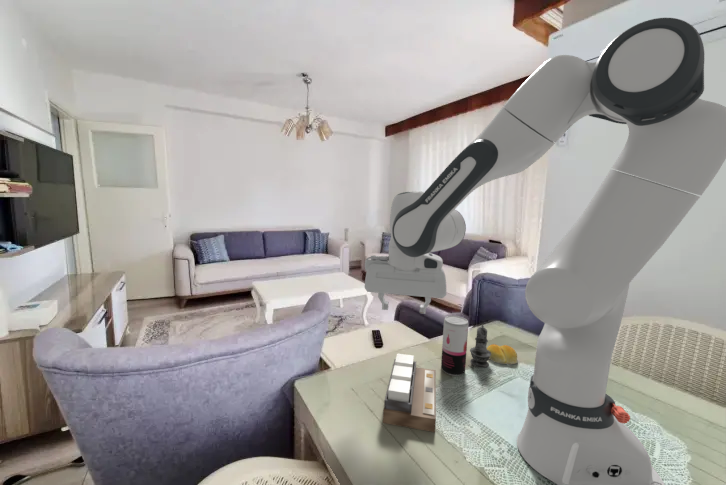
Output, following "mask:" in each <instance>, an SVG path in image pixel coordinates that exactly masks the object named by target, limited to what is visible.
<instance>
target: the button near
mask: <svg viewBox="0 0 726 485" xmlns="http://www.w3.org/2000/svg"><path fill="white" fill-rule="evenodd" d="M409 396H410V381H403V380H396V379H391V382H390V386H389V390H388V400H394V401H400V402H406V403H409Z"/></svg>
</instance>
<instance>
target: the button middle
mask: <svg viewBox="0 0 726 485" xmlns="http://www.w3.org/2000/svg"><path fill="white" fill-rule="evenodd" d="M392 379H396V380H403V381H410V386H411V380H412V367H404V366H397V365H394V369H393V373H392Z"/></svg>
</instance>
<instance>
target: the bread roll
mask: <svg viewBox="0 0 726 485" xmlns="http://www.w3.org/2000/svg"><path fill="white" fill-rule="evenodd" d="M486 348H487V350H489V351H490V352H491V356H490V358H489V359H488V360H491V361H492V362H494V363H496V364H500V365H505V364H506V365H515V364H517V363H518V362H519V360H518V354H517V351H516V350H515V349H514V348H513V347H512V346H510V345H508V344H507V345H506V344H502V345H498V344H494V343H493V344H490V345H488V346H486Z"/></svg>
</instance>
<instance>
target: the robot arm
mask: <svg viewBox="0 0 726 485" xmlns="http://www.w3.org/2000/svg"><path fill="white" fill-rule="evenodd" d="M704 91H705V48H704V43H703V39H702V37H701V35H700V33H699V32H698V29H696V28H695V26H693V25H692V24H690V22H687V21H685V20H682V19H679V18H674V17H657V18H652V19H648V20H644V21H642V22H639V23H637V24H636V25H635V24H634V25H633V26H631V27H629V28H627V29H625V30H624V31H622V32H621V33H620V34H619V35H617V36H616V37H615V38H614V39H613V40H612V41H610V43H608V44H607V46H606V47H605V49H604V50H603V51H602V53H601V54H600V56H599V57H598V59H597V61H595V62H589V61H585V60H584V59H582V58H581V57H579V56H574V55H569V54H560V55H555V56H553V57H550V58H548V59H547V60H546V61H544V62H543V63H542V64H541V65H540V66H539V67H538V68H537V69H536V70H535V71H534V72H533V73H532V74H531V75H530V76H529V77H528V78H526V79H525V81H524V82H522V84H521V85H520V86H519V87H518V88H517V89H516V90H515V92H514V93H513V94H512V95H511V96H510V98H509V99H508V100H507V101H506V103H505V104H504V105H503V107H502V108H500V110H499V111H498V112H497V114H495V116H494V117H493V118H492V120H490V122H489V123H488V124H487V125H486V127H485V128H484V129H483V130H482V131H481V133H479V135H478V136H477V137H475V138H474V139H473V141H471V142H470V143H469V144H468V145H467V146H466V147H465V148H464V149H463V150H462V151H460V153H459V154H457V156H456V157H454V159H453V160H452V161H451V162H450V163H449V164H448V165H447V166H446V168H444V170H442V172H441V173H440V174H439V175H438V176H437V178H436V179H435V180H434V181H433V182H432V183H431V184H430V185H429V187H428V188H427V189H426V190H425V191H421V190H412V191H403V192H400V193H398V194H396V195H394V198H393V200H392V202H391V207H390V216H389V230H390V240H389V241H388V242H389V243H388V255H386V256H385V255H381V256H380V255H370V256H368V257H367V258H366V259H365V261H364V271H365V272H366V273H365V280H364V290H366V292H367V293H373V294H374V293H376V294H377V297H378V299H379V301H380V303H381V310H382V311H388V310H389V305H390V304H389V301H387V300H386V299H385V298H384V297H385V294H387V295H389V294H390V295H398V296H399V295H401V296H409V297H410V296H413V297H419V298H421V297H423V298H424V300H425V301H424V303H423V304H419V314H426V312H427V311H426V310H427V308H428V306H429V304H430V303H431V302H432V298H435V299H444V298H445V297H446V296H447V280H446V274H445V271H444V268H443V265H444V263H443V262H444V260H443V258H442V257H441V256H439V255H437V254H434V253H435V252H440V251H444V250H448V249H451V248H454V247H456V246H458V245H459V244H460V243H461V242H462V241H463V239H464V238H465V236H466V230H467V227H466V221H465V218H464V217H463V214H461V213H460V212H459V211H458V210H457V208H458V206H460V204H462V202H463V201H464V200H465V199H467V197H469V195H470V194H471V193H472V192H474V191H475V190H476V189H478V188H480V187H481V186H483V185H485V184H488V183H489V182H492V181H494V180H498V179H500V178H503V177H508V176H512V175H515V174H519V173H522V172H524V171H525V170H526V169H529V168H530V167H531V166H532V165H534V164H535V163H536V162H538V160H540V158H542V157H543V156H544V155H545V154H547V153H548V151H549V150H550V149H551V148H552V147H553V146H554V145H555V144H556V143H557V142H558V141H559V140H560V139H561V138H562V136H564V134H565V133H566V132H567V131H568V130H569V129H570V128H571V127H572V126H574V124H575V123H577V122H578V121H579V120H581V119H583V118H584V117H587V116H589V117H592V118H597V119H600V120H604V121H608V122H612V123H616V124H621V125H627V127H628V137H627V140H626V142H625V145H624V147H623V148H622V150H621V152H620V154H619V155H618V157H617V159H616V160H615V161H614V163H613V164H612V167H611V168H610V169H609V171H608V173H607V175H606V176H605V177H604V179H603V181H602V183H601V184H600V185H599V187H598V189H597V191H596V192H595V193H594V195H593V197H592V199H591V200H590V202H589V203H588V205H587V206H586V208H585V209H584V211H583V212H582V213H581V215H580V217H579V218H578V219H577V220H576V222H575V223H574V224H573V225H572V226H571V228H569V230H568V231H567V232H566V234H565V235H563V237H562V238H561V240H560V241H559V242H558V243H557V244H556V246H555V247H554V248H553V250H552V251H551V252H550V253H549V255H548V256H547V257H546V259H544V261H543V263H542V264H541V266H540V267H539V268H538V269H537V270H536V271H534V273H533V274H532V276H530V278H529V279H528V281H527V282H526V285H525V290H524V291H525V292H524V295H525V301H526V304H527V306H528V308H529V310H530V311H531V313H532V314H533V315H534V317H536V318H537V319H538V320H540V322H543V324H544V325H543V327H542V330H541V332H540V334H539V335H538V338H537V342H536V351H535V358H534V368H533V374H532V375H531V377H530V382H529V387H528V391H527V393H528V394H527V405H528V406H527V407H528V408H527V412H526V416H525V419H524V423H523V425H522V427H521V429H520V432H519V433H518V435H517V438H516V445H517V448H518V451H519V453H520V454H521V457H522V458H523V459H524V460H525V462H527V464H528V465H530V467H531V468H532V469H534V470H535V471H536V472H537V473H539V475H541V476H543V477H544V478H546V479H548V480H549V481H551V482H552V483H554V484H555V485H665V482H664V481H663V479H662V478H661V476H660V474H659V473H658V472H657V470H656V469H655V468H654V467H653V466H652V465H653V464H652V460H651V457H650V455H649V452H648V451H647V449H646V448H645V446H644V444H643V443H642V442H641V440H640V439H639V438H638V437H637V435H636V434H635V433H634V432H633V431H632V430H631V429H630V427H628V426H627V425H626V424H627V423H628V422H630V420H631V416H630V415H629V413H628V411H627V412H626V410H625V409H624V407H622V406H619V405H616V401H615V400H614V399H613V398H612V397H611V396H609V395H608V394H607V387H608V380H609V374H610V369H611V362H612V361H611V360H612V356H613V354H614V353H613V352H614V348H615V345H616V342H617V338H618V336H619V331H620V326H621V323H622V319H623V316H624V312H625V308H626V303H627V298H628V292H629V289H630V284H631V282H632V281H633V280H634V278H636V276H637V275H638V274H639V273H640V272H641V271H642V269H643V268H644V267H645V266H646V265H647V263H648V262H649V261H650V260H651V259H652V258H653V256H654V255H656V253H657V252H658V251H659V250H660V249H661V248H662V246H663V245H664V244H665V243H666V241H667V240H668V239H669V237H670V236H671V235H672V234H673V232H674V231H675V230H676V229H677V227H678V226H679V225H680V223H681V222H682V221H683V219H684V218H685V217H686V216H687V214H688V213H689V212H690V211H691V209H692V208H693V207H694V205H695V204H696V203H697V201H698V200H699V199H700V198H701V196H702V195H703V194H704V193H705V191H706V190H707V188H708V187H709V186H710V185H711V183H712V182H713V180H714V179H715V177H716V176H717V174H718V173H719V172H720V169H721V168H722V166H723V164H724V163H725V161H726V106H724V105H722V104H719V103H717V102H713V101H709V100H704V99H702V98H700V97H701V96H702V95H703V93H704Z"/></svg>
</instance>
